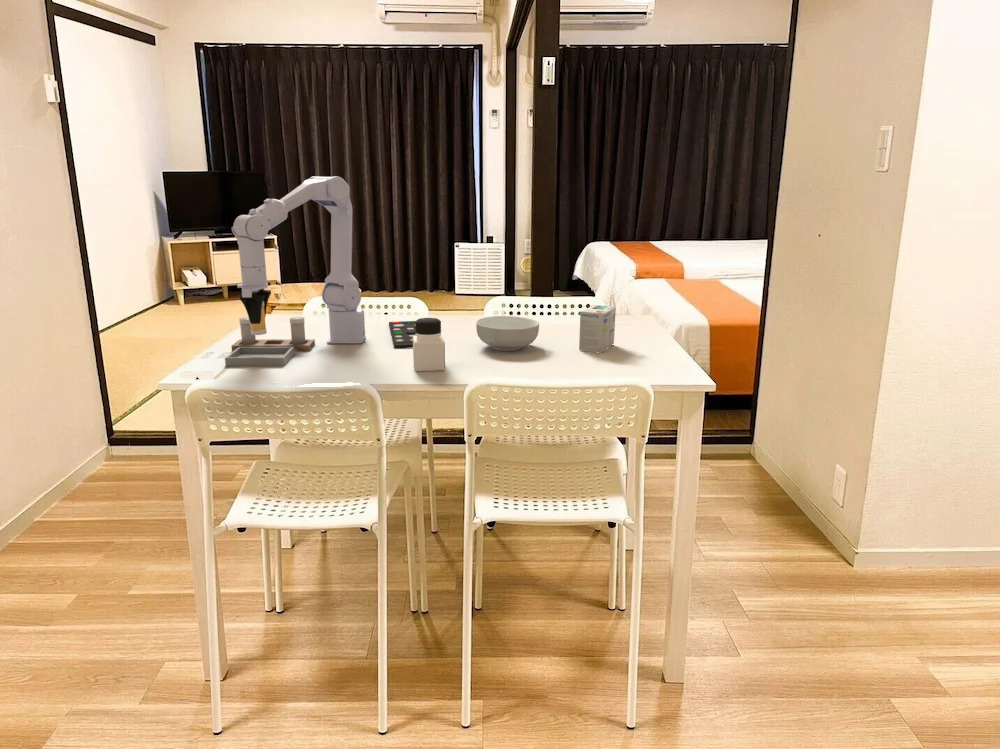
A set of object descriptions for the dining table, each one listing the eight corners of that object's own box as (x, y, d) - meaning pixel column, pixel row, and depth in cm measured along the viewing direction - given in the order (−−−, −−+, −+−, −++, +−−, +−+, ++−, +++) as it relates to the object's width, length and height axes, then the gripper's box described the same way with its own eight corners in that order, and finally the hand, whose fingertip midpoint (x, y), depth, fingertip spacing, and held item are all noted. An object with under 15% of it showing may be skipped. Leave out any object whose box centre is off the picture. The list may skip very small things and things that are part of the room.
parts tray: (294, 354, 185) (294, 346, 185) (284, 365, 175) (283, 357, 174) (239, 354, 185) (238, 346, 184) (225, 365, 174) (224, 357, 174)
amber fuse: (268, 331, 180) (265, 299, 177) (264, 335, 176) (261, 302, 174) (253, 331, 179) (250, 299, 177) (248, 335, 176) (246, 302, 174)
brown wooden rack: (315, 344, 195) (314, 339, 195) (309, 351, 189) (309, 345, 188) (240, 344, 195) (239, 339, 194) (231, 351, 188) (231, 345, 187)
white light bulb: (258, 346, 193) (255, 316, 191) (254, 349, 190) (251, 319, 187) (244, 346, 193) (241, 317, 191) (240, 349, 190) (237, 319, 187)
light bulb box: (591, 342, 200) (593, 304, 197) (614, 345, 198) (616, 306, 195) (578, 351, 191) (579, 310, 188) (602, 353, 188) (604, 313, 185)
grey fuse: (307, 346, 194) (305, 316, 192) (304, 349, 190) (302, 319, 188) (293, 346, 194) (291, 316, 191) (290, 349, 190) (288, 319, 188)
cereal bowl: (509, 358, 183) (509, 331, 181) (463, 347, 194) (463, 321, 192) (551, 347, 195) (552, 321, 193) (505, 337, 206) (505, 313, 204)
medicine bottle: (445, 370, 171) (444, 321, 168) (414, 372, 170) (413, 322, 167) (442, 363, 178) (441, 315, 175) (413, 364, 177) (412, 316, 174)
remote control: (425, 325, 223) (425, 318, 222) (435, 348, 194) (435, 341, 194) (388, 326, 221) (388, 320, 220) (394, 350, 192) (393, 343, 192)
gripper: (245, 262, 180) (250, 315, 184) (226, 270, 166) (232, 328, 170) (273, 262, 180) (278, 315, 184) (257, 270, 166) (262, 328, 170)
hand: (258, 321), depth 177 cm, fingers closed on amber fuse, 3 cm apart
